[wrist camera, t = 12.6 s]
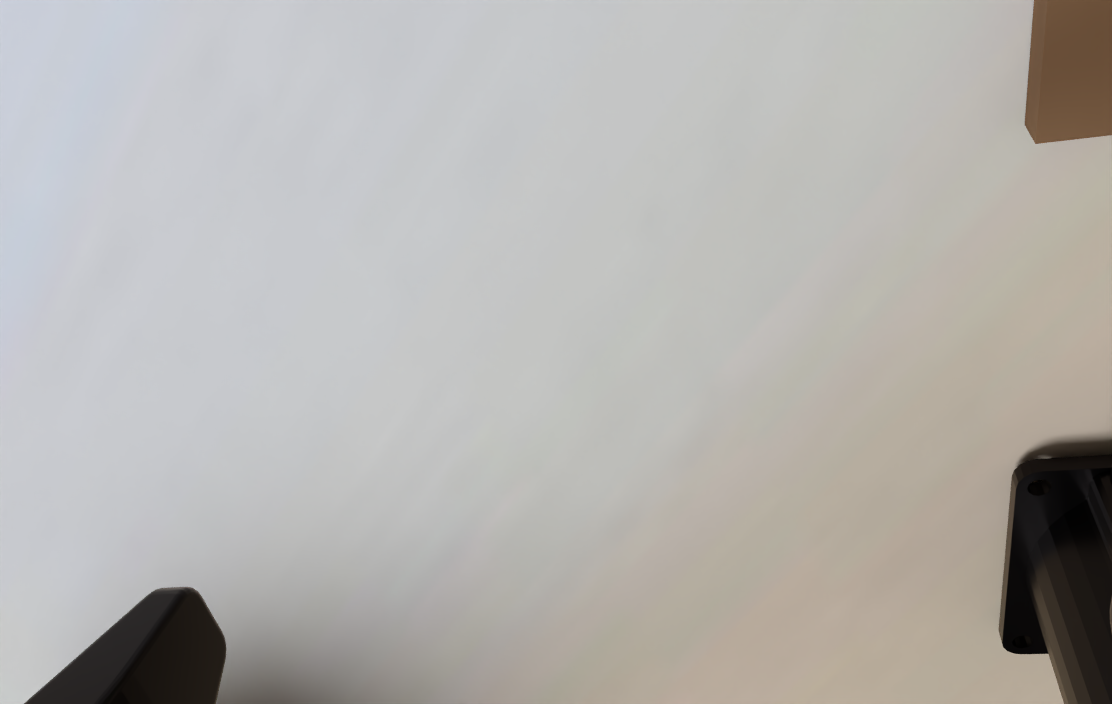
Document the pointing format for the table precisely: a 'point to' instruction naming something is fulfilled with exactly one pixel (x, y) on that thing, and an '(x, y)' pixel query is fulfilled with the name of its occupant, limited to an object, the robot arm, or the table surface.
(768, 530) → the table surface
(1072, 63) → the walnut U-rest
